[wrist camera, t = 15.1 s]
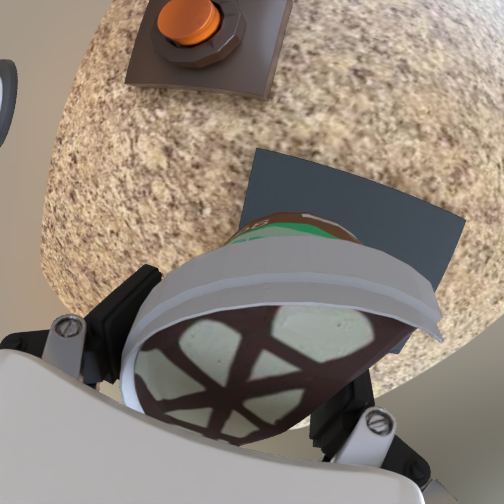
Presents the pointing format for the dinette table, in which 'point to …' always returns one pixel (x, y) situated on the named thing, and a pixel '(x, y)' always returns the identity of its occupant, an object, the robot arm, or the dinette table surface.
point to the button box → (214, 51)
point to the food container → (269, 328)
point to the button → (189, 21)
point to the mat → (356, 211)
